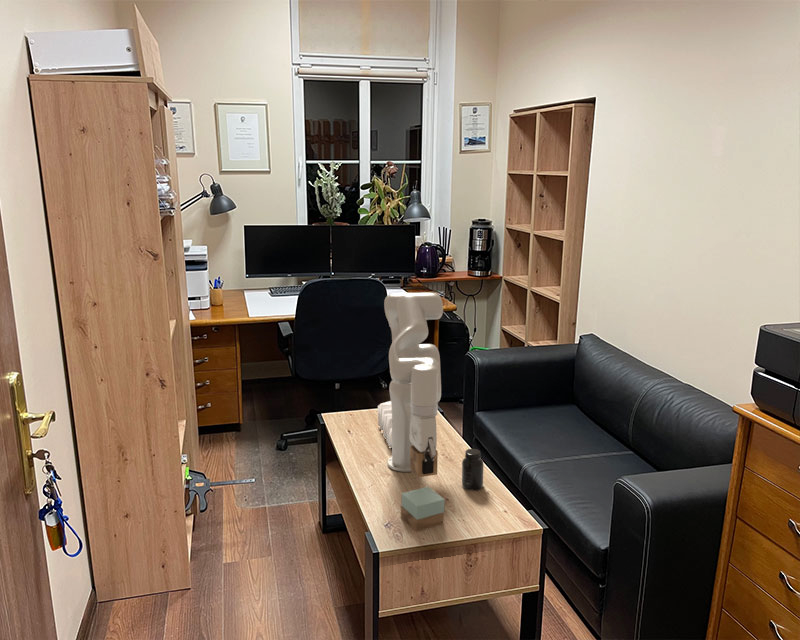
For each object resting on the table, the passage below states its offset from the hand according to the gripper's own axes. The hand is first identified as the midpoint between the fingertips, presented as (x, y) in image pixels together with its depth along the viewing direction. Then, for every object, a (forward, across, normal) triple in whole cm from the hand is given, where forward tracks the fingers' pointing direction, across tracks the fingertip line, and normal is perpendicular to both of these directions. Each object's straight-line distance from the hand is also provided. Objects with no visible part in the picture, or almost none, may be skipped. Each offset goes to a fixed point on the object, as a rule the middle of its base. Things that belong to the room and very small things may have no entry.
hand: (423, 467), depth 186 cm
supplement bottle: (+17, -15, +23) cm, 32 cm away
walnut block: (+1, 0, 0) cm, 1 cm away
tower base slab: (+17, 0, 0) cm, 17 cm away
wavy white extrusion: (+17, -62, +16) cm, 66 cm away
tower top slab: (+13, 0, 0) cm, 13 cm away
